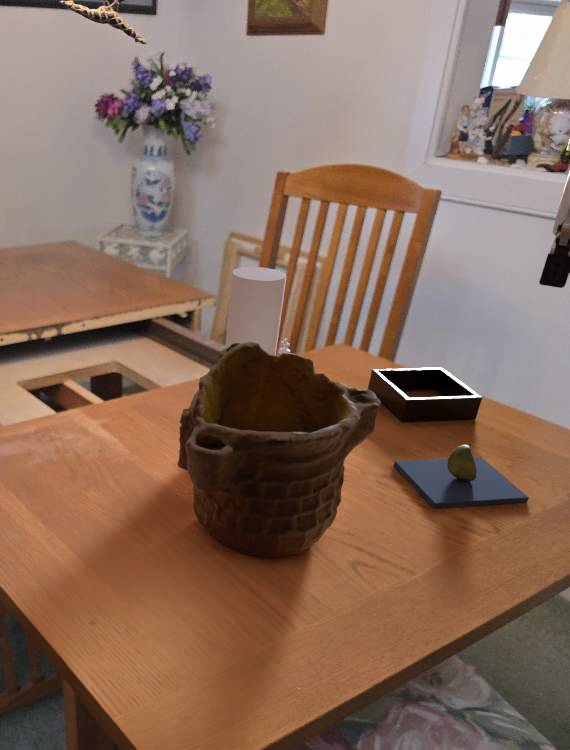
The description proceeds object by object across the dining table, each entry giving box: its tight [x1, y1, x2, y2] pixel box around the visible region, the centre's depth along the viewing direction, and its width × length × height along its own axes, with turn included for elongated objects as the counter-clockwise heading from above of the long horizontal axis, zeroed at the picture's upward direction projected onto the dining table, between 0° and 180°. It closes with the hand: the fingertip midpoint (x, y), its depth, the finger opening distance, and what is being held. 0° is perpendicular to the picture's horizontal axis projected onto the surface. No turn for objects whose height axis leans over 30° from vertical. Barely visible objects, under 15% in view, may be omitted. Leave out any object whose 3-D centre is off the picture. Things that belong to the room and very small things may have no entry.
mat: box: [393, 456, 530, 509], centre depth 100 cm, size 14×12×1 cm
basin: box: [367, 367, 483, 423], centre depth 122 cm, size 14×14×4 cm
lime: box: [448, 444, 477, 481], centre depth 98 cm, size 4×5×5 cm
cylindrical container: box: [224, 266, 287, 356], centre depth 100 cm, size 7×7×25 cm
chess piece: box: [277, 338, 291, 356], centre depth 121 cm, size 5×5×10 cm
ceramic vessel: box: [177, 342, 381, 559], centre depth 81 cm, size 23×24×25 cm
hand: (557, 278), depth 99 cm, fingers open, 9 cm apart
